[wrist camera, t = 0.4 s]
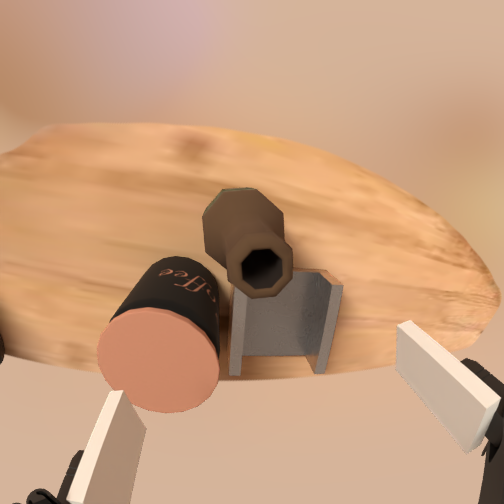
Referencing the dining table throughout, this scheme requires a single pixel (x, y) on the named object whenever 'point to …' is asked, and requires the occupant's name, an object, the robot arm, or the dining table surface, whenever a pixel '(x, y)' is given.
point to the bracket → (286, 321)
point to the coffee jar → (165, 338)
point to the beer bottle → (248, 241)
